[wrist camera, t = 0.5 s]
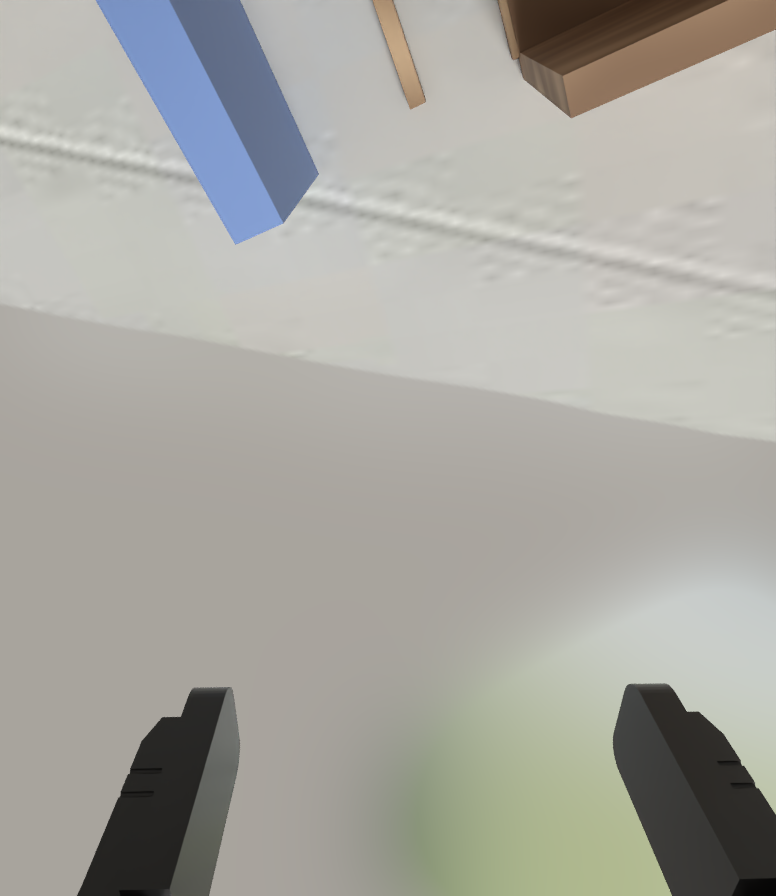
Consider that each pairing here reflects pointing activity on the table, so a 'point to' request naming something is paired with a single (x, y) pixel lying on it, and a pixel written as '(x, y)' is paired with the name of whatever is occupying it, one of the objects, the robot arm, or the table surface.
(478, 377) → the table surface
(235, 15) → the blue rectangular block
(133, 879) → the robot arm
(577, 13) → the cabinet
